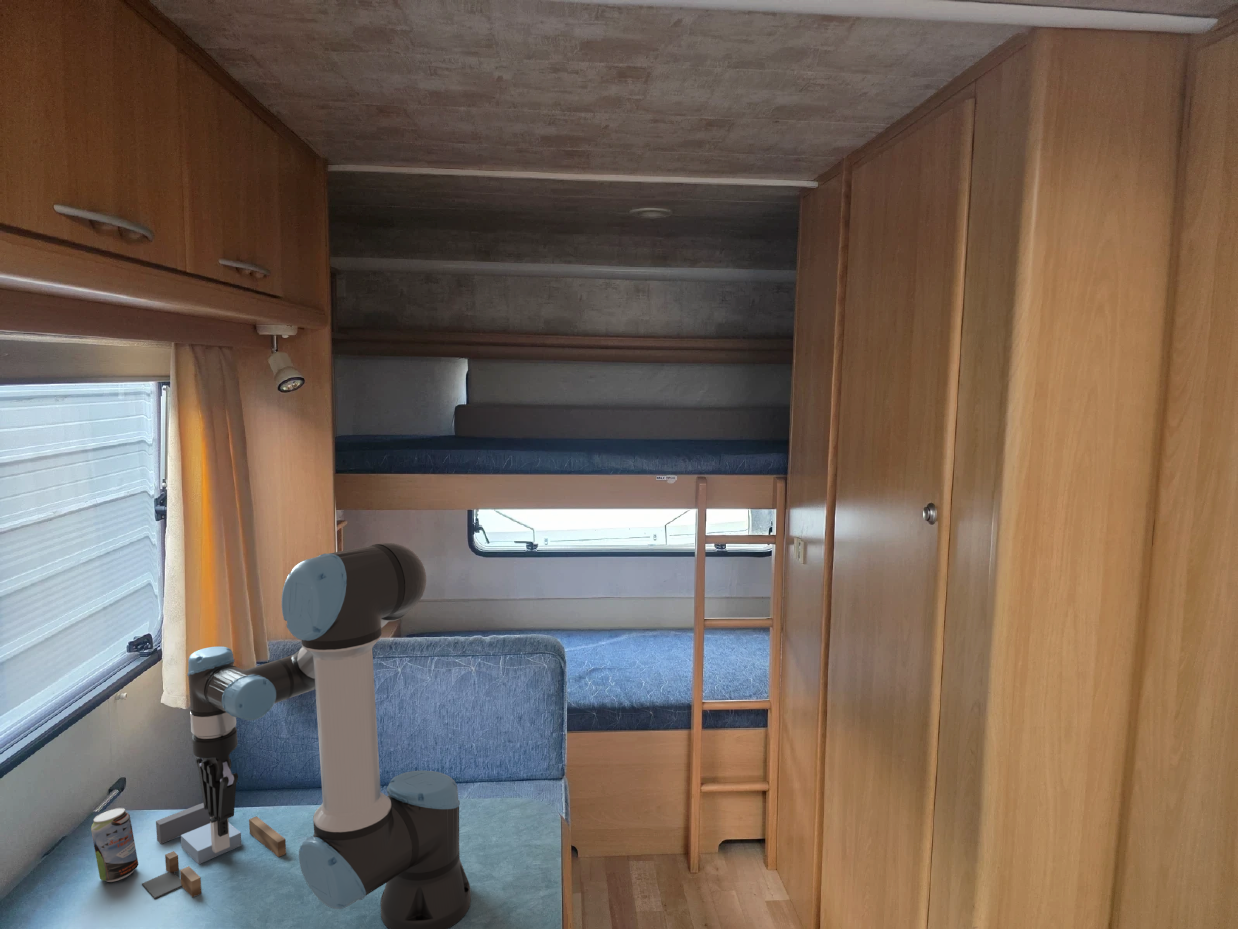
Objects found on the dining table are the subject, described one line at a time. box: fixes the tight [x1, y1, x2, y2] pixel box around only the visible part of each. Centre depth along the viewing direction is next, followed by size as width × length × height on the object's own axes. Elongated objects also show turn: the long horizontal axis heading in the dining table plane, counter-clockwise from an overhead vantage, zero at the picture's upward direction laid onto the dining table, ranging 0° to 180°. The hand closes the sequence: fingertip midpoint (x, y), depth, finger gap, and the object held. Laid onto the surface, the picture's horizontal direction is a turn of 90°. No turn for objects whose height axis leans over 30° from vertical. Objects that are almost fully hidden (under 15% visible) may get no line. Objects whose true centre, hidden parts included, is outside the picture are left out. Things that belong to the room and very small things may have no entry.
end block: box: [155, 802, 211, 845], centre depth 159 cm, size 2×12×4 cm, turn 139°
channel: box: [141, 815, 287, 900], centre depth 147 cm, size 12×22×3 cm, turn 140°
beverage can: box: [90, 807, 139, 883], centre depth 144 cm, size 6×7×12 cm
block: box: [180, 822, 243, 865], centre depth 153 cm, size 8×8×3 cm
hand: (220, 848), depth 150 cm, fingers closed
